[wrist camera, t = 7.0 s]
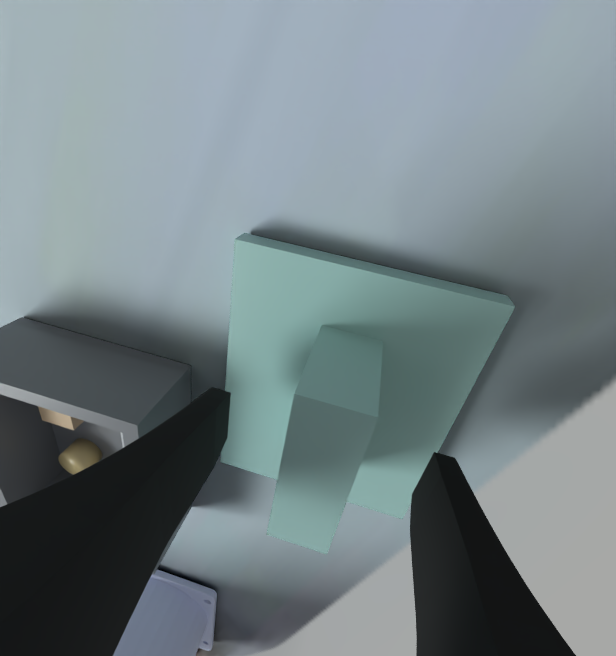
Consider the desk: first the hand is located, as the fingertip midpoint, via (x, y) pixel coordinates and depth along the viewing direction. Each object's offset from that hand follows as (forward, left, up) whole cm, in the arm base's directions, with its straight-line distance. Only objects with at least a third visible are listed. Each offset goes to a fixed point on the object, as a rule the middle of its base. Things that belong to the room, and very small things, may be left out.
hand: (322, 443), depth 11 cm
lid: (0, 0, -3) cm, 3 cm away
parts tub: (-6, +10, -3) cm, 12 cm away
